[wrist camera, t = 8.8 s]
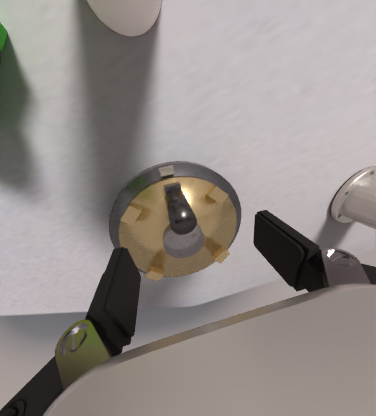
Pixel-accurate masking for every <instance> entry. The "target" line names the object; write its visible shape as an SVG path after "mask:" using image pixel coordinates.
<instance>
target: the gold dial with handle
mask: <svg viewBox="0 0 376 416" xmlns="http://www.w3.org/2000/svg"><path fill="white" fill-rule="evenodd" d="M228 196H229V195H228V194H227V193H225V192H224V191H223V190H221V189H220V188H219V187H217V186H216V185H215V184H213V183H211V182H209V181H207V180H205V179H202V178H198V177H194V176H173V177H168V178H164V179H160V180H158V181H156V182H153V183H151V184H150V185H148V186H146V187H145V188H143V189H142V190H141V191H140V192H138V193H137V194H136V195H135V196H134V197H133V198H132V200H131V201H130V202H129V204H128V205H127V207H126V209H125V211H124V213H123V215H122V217H121V219H120V221H121V222H120V226H119V241H120V245H121V247H124V248H127V249H128V251H129V253H130V255H131V257H132V259H133V261H134V263H135V265H136V267H138V268H139V269H141V270H143V271H145V272H146V276H145V278H148V279H152V280H156V281H159V280H160V279H161V278H162V276H163V277H178V276H184V275H189V274H192V273H195V272H198V271H200V270H202V269H204V268H206V267H208V266H209V265H211V264H212V263H214V262H215V261H217V262H219V263H222V261H223V260H224V259H225V258H226V257H227V256H228V255H229V254H230V253H229V252H228V250H227V249H228V247H229V246H230V244H231V242H232V240H233V238H234V235H235V231H236V226H237V216H236V211H235V208H234V205H233V203H232V201H231V200H230V198H229V197H228Z"/></svg>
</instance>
